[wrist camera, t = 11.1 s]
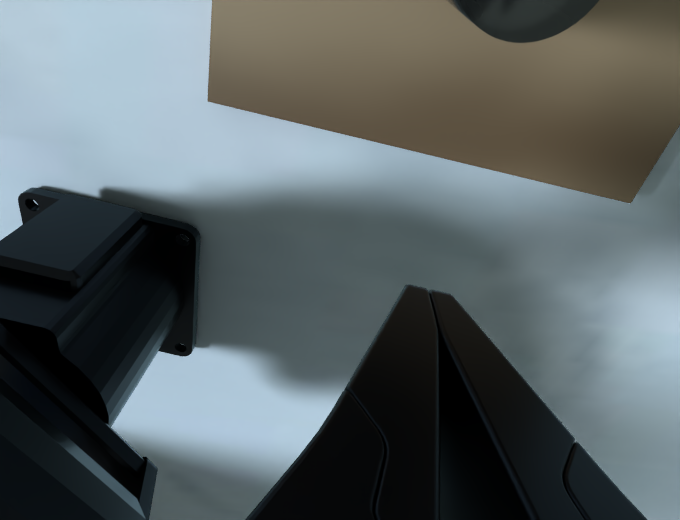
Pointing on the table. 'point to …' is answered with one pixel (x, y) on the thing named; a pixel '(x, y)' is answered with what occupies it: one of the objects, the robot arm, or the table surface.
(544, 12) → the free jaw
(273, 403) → the table surface
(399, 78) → the wooden board with blocks
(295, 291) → the table surface
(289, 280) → the table surface
